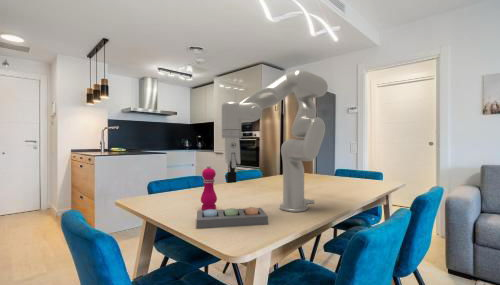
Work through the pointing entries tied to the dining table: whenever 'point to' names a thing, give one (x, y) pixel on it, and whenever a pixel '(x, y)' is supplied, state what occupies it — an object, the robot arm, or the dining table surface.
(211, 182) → the pepper mill
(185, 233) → the dining table surface
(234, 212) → the sage button
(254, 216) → the button panel
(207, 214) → the blue button
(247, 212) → the terracotta button
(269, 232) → the dining table surface
